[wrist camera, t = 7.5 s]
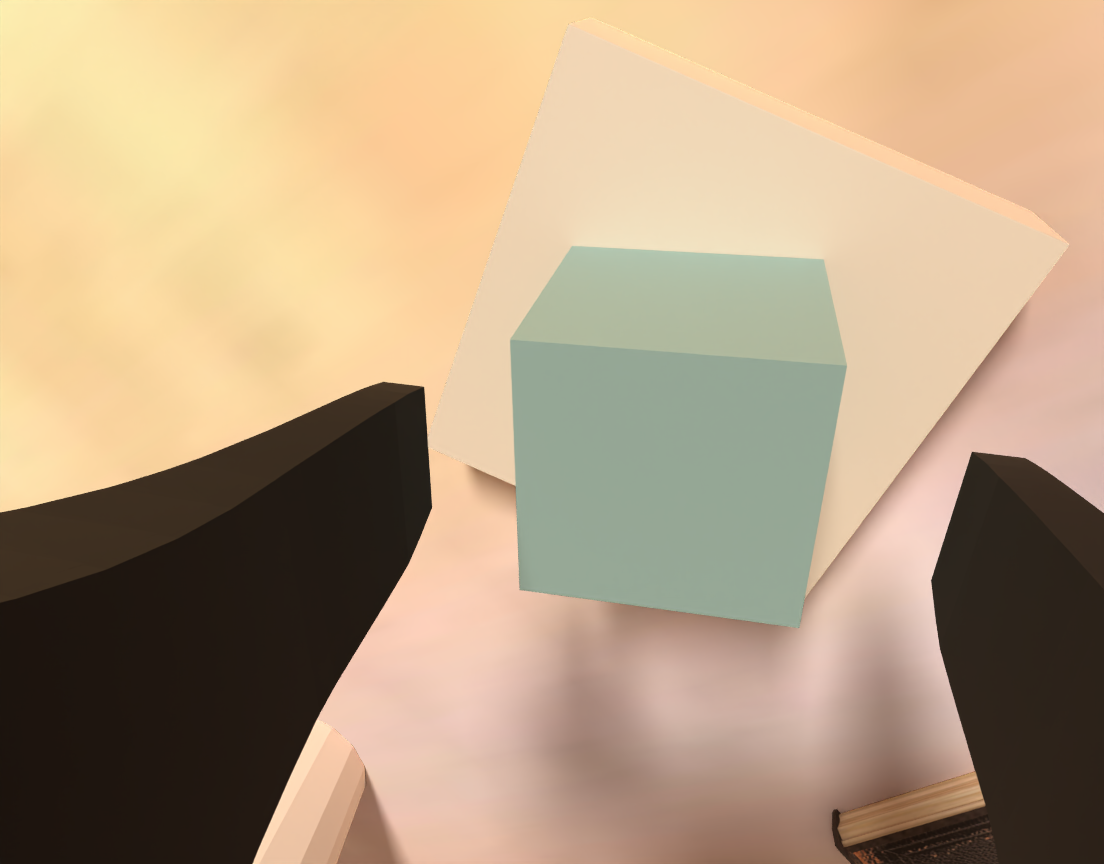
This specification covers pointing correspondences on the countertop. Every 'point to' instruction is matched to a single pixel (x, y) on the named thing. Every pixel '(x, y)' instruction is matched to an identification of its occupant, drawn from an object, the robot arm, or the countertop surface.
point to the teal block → (676, 430)
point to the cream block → (751, 248)
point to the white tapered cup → (316, 803)
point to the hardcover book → (920, 827)
